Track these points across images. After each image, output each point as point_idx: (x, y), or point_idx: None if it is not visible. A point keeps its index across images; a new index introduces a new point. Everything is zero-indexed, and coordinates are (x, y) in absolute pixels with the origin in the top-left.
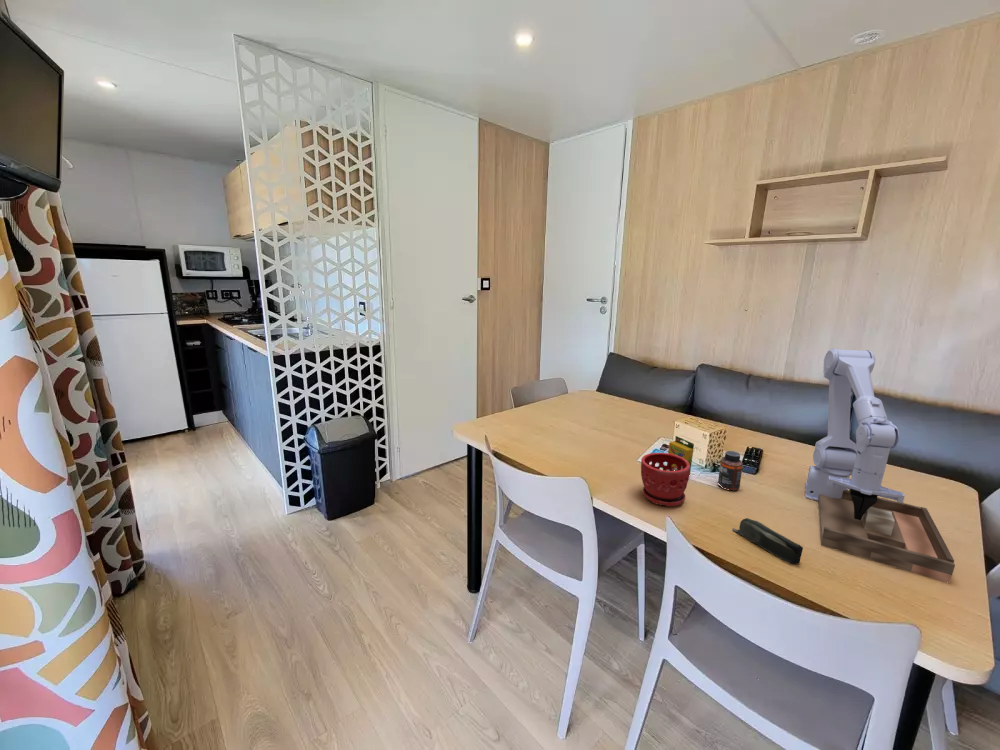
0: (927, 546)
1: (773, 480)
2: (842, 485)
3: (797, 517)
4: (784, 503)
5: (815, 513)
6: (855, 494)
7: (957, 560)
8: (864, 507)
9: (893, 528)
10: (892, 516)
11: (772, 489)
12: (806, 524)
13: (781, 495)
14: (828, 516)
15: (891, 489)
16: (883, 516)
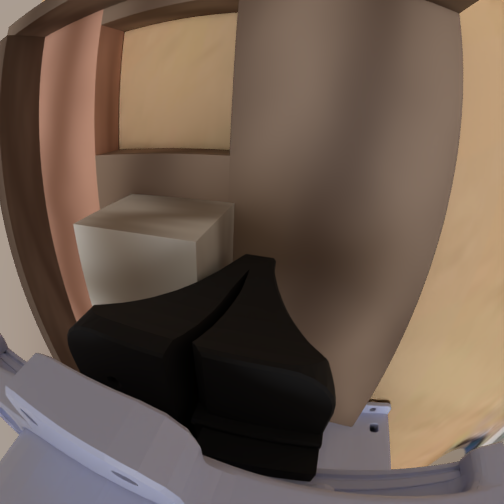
0: (51, 182)
1: (433, 440)
2: (427, 497)
3: (494, 237)
4: (487, 334)
5: None
6: (272, 413)
7: None
8: (205, 296)
9: None
10: (87, 282)
11: (469, 400)
12: (480, 183)
13: (465, 381)
14: (398, 260)
15: (18, 433)
16: (116, 261)
